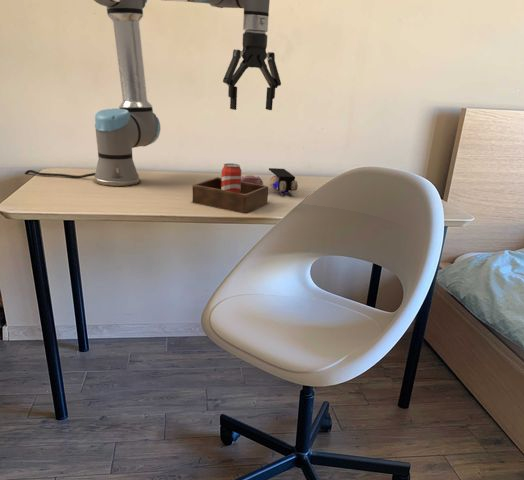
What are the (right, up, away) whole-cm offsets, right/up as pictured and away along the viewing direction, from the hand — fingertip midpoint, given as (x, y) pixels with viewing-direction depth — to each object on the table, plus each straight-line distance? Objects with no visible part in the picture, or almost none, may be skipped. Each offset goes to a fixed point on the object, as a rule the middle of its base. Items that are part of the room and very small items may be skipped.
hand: (251, 109), depth 165 cm
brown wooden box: (-7, -29, +3) cm, 30 cm away
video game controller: (-1, -21, +19) cm, 28 cm away
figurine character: (+11, -20, +21) cm, 31 cm away
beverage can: (-7, -29, +3) cm, 30 cm away
